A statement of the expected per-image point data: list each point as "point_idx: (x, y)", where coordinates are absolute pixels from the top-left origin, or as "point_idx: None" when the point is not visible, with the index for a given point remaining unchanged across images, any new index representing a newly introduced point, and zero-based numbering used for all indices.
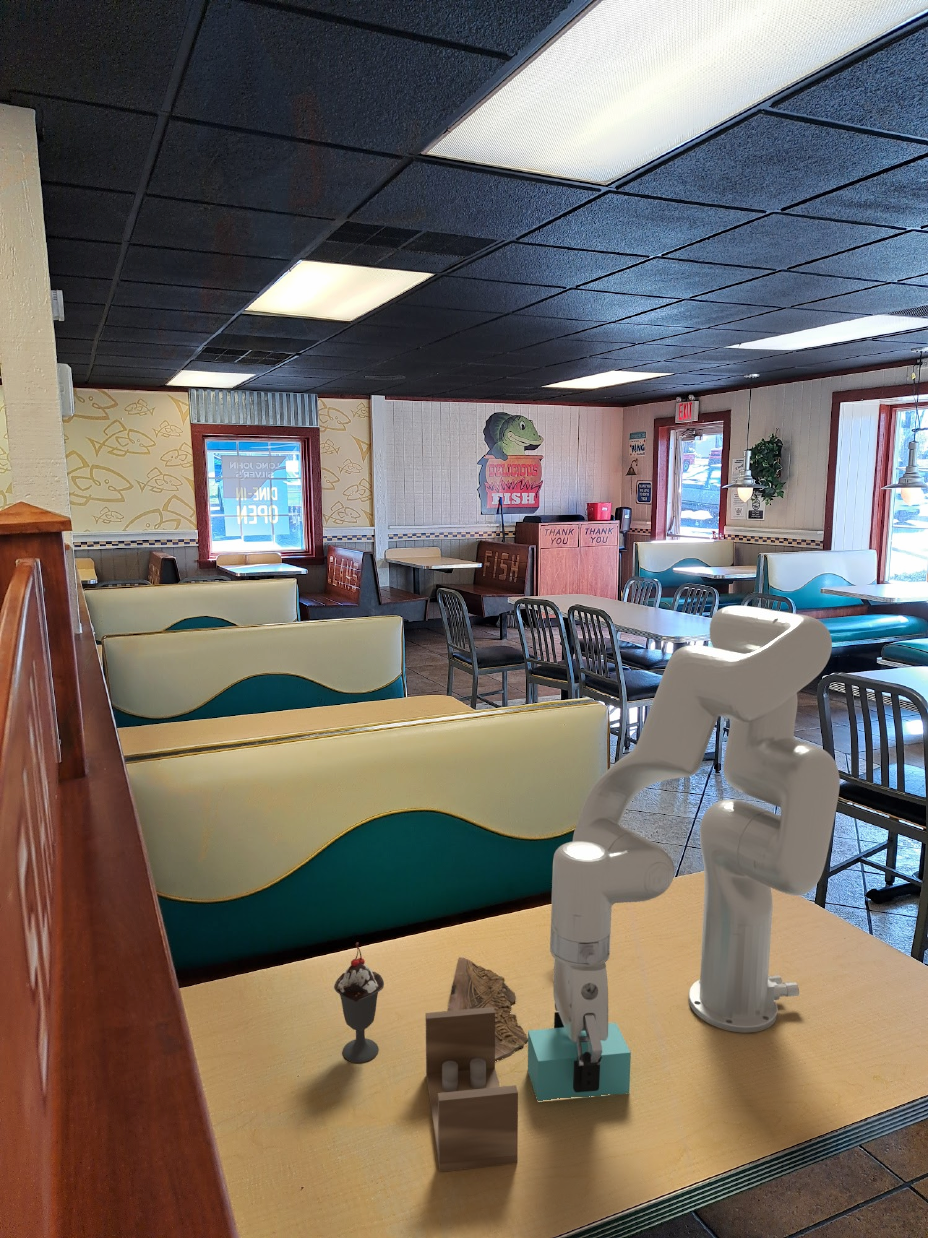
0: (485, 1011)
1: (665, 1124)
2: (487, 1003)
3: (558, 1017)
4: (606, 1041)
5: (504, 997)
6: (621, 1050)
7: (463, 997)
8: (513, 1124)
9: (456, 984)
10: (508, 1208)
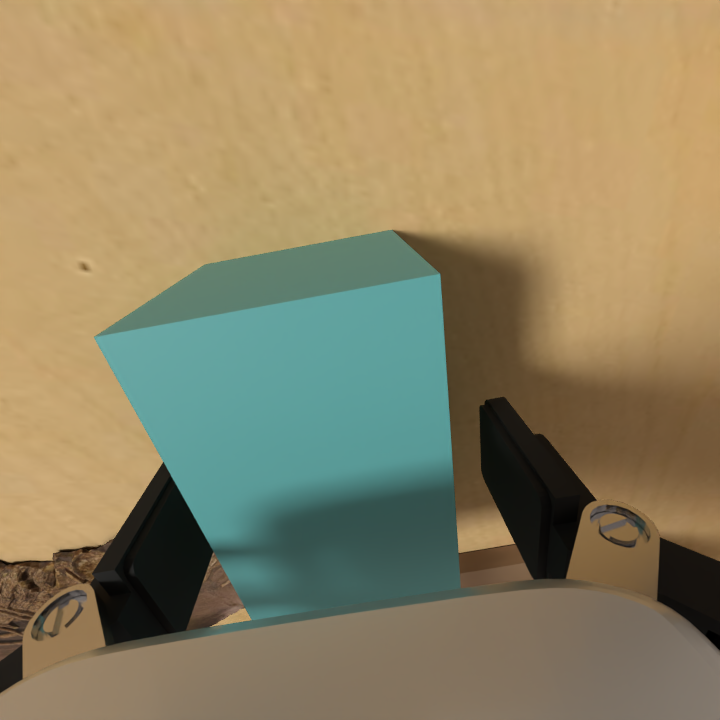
0: None
1: (581, 92)
2: (30, 612)
3: (180, 626)
4: (328, 417)
5: None
6: (417, 337)
7: None
8: None
9: None
10: (705, 537)
